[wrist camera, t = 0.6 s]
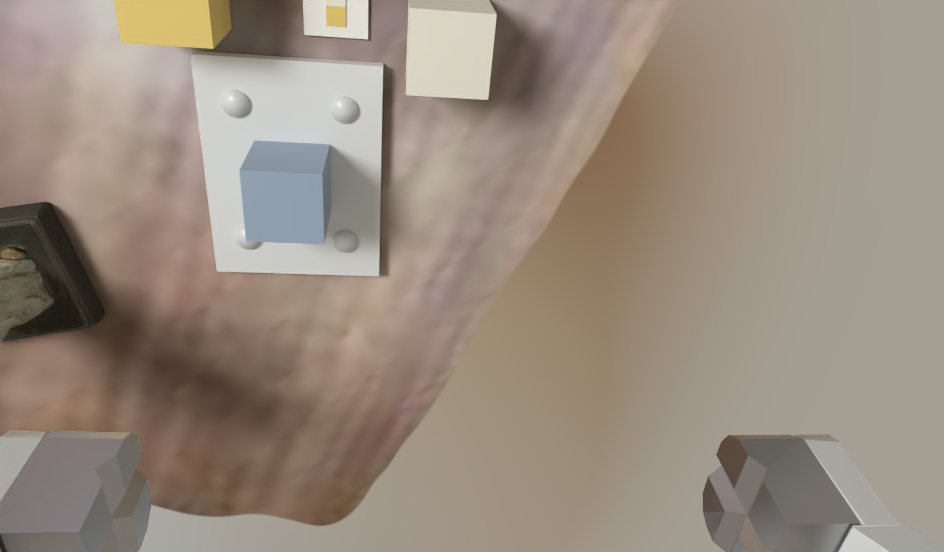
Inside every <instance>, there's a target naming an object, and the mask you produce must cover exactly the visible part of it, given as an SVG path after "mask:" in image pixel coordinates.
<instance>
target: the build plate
mask: <svg viewBox="0 0 944 552" xmlns="http://www.w3.org/2000/svg"><path fill="white" fill-rule="evenodd" d="M190 58H191V66H192V74H193V82H194V90H195V98H196V106H197V115H198V123H199V131H200V139H201V147H202V155H203V163H204V171H205V179H206V187H207V195H208V203H209V211H210V219H211V227H212V235H213V243H214V251H215V259H216V267H217V271H219V272H252V273H285V274H318V275H351V276H379V261H380V209H381V158H382V107H383V63H373V62H357V61H342V60H327V59H311V58H296V57H281V56H266V55H250V54H235V53H220V52H204V51H193V52H192V53H191V54H190ZM254 140H256V141H275V142H295V143H314V144H330V179H331V213H330V218H329V223H328V228H327V233H326V238H325V243H324V244H304V243H276V242H247V241H246V235H245V225H244V214H243V204H242V193H241V183H240V173H239V170H240V168H241V166H242V164H243V162H244V160H245V158H246V156H247V154H248V152H249V150H250V148H251V146H252V144H253V142H254Z"/></svg>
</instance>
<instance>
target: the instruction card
mask: <svg viewBox="0 0 944 552" xmlns="http://www.w3.org/2000/svg"><path fill="white" fill-rule="evenodd" d="M303 16H304V35H311V36H326V37H340V38H355V39H368V0H303Z"/></svg>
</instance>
